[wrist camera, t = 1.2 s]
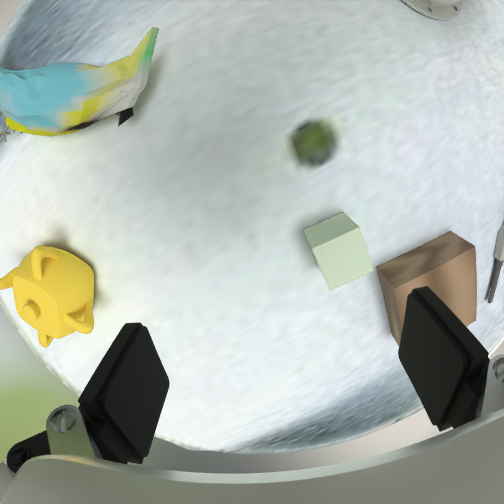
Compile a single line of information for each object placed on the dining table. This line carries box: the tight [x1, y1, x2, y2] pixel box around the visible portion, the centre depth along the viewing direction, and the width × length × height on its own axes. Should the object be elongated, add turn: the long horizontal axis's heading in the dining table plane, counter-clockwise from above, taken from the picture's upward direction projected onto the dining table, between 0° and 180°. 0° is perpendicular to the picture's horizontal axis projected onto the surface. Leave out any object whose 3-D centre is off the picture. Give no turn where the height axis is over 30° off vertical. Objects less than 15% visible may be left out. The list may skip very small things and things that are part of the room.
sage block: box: [303, 212, 374, 291], centre depth 30 cm, size 5×5×6 cm
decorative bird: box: [0, 27, 159, 142], centre depth 22 cm, size 14×30×9 cm, turn 74°
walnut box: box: [376, 231, 477, 346], centre depth 32 cm, size 12×12×6 cm
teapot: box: [0, 246, 94, 347], centre depth 31 cm, size 14×13×10 cm
